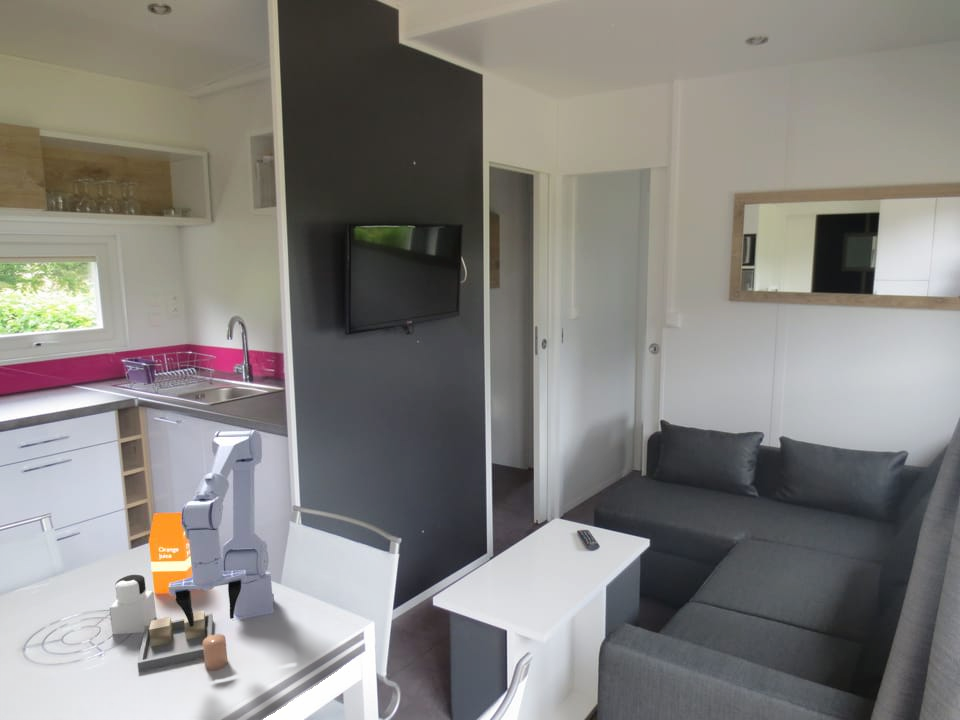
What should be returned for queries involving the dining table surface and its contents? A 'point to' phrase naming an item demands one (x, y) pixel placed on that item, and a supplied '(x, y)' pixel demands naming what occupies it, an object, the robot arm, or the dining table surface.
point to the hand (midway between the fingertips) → (212, 620)
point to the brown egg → (215, 652)
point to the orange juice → (168, 551)
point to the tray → (173, 647)
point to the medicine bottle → (132, 606)
